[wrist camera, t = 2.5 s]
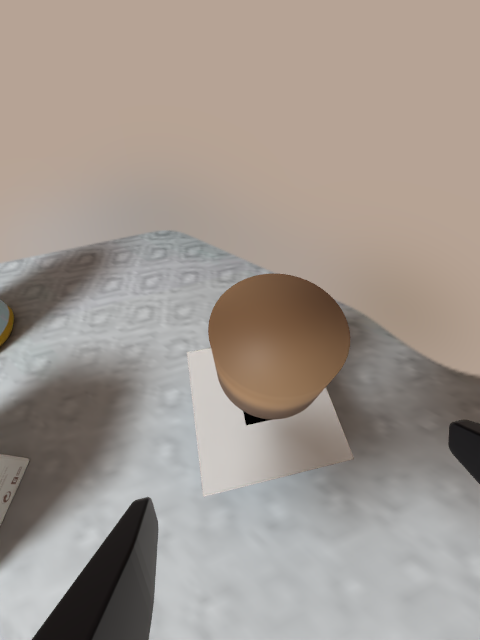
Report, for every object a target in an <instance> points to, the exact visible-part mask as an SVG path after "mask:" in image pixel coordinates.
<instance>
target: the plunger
mask: <svg viewBox="0 0 480 640" xmlns="http://www.w3.org/2000/svg"><path fill="white" fill-rule="evenodd" d="M208 333H209V341H210V345H211V350H212V354H213V358H214V363H215V367H216V372H217V376H218V380H219V383H220V385H221V388H222V389H223V391H224V393H225V395H226V396H227V397H228V398H229V400H230V401H231V402H232V403H233V404H234V405H235V406H237V407H238V408H239V409H241V410H242V411H244V412H246V413H248V414H250V415H252V416H255V417H259V418H262V419H284V418H288V417H291V416H294V415H296V414H298V413H300V412H302V411H303V410H305V409H306V408H307V407H308V406H310V405H311V404H312V403H313V401H314V400H315V399H316V398H317V397H318V396H319V394H320V393H321V392H322V391H323V390H324V389H325V387H326V386H327V385H328V384H329V383H330V382H331V380H332V379H333V378H334V377H335V376H336V375H337V373H338V372H339V371H340V370H341V368H342V366H343V365H344V363H345V361H346V358H347V356H348V352H349V347H350V332H349V327H348V323H347V320H346V318H345V315H344V313H343V312H342V310H341V308H340V307H339V305H338V304H337V303H336V301H335V300H334V299H333V298H332V297H331V296H330V295H329V294H328V293H326V292H325V291H324V290H323V289H321V288H320V287H318V286H317V285H315V284H313V283H311V282H309V281H307V280H304V279H301V278H298V277H295V276H291V275H285V274H263V275H257V276H253V277H250V278H247V279H245V280H242V281H240V282H238V283H237V284H235V285H233V286H232V287H231V288H229V289H228V290H227V291H226V292H225V293H224V294H223V295H222V296H221V297H220V298H219V300H218V301H217V303H216V304H215V306H214V308H213V310H212V313H211V316H210V320H209V329H208Z"/></svg>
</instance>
